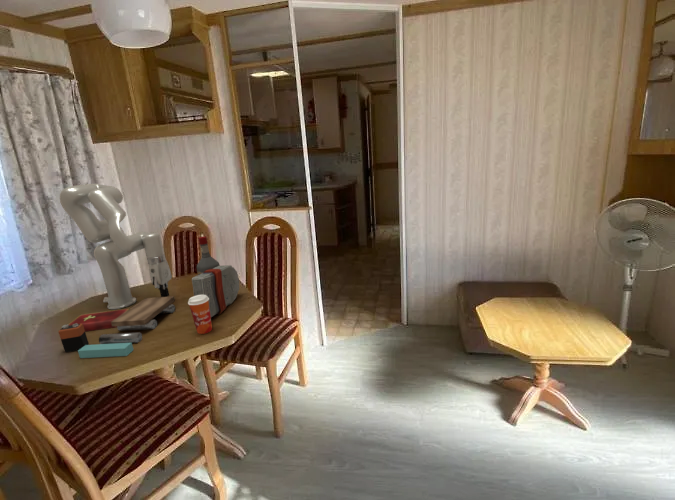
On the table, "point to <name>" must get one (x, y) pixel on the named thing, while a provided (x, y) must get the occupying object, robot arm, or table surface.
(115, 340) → the roller
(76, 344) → the battery
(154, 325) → the front roller
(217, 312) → the decorative stone tablet
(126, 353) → the block
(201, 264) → the liquor
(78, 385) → the table surface
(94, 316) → the hardcover book
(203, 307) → the paper cup
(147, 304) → the walnut slab
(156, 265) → the robot arm
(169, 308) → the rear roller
